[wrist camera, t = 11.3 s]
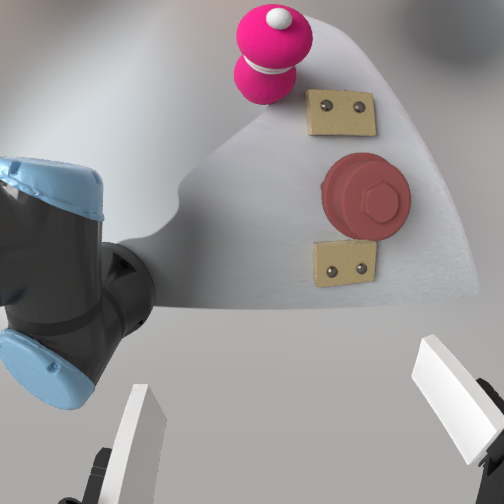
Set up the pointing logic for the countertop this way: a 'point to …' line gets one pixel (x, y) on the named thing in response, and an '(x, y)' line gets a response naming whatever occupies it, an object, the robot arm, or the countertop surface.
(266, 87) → the pepper mill
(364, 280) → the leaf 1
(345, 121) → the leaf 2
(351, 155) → the mechanical component
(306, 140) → the countertop surface
